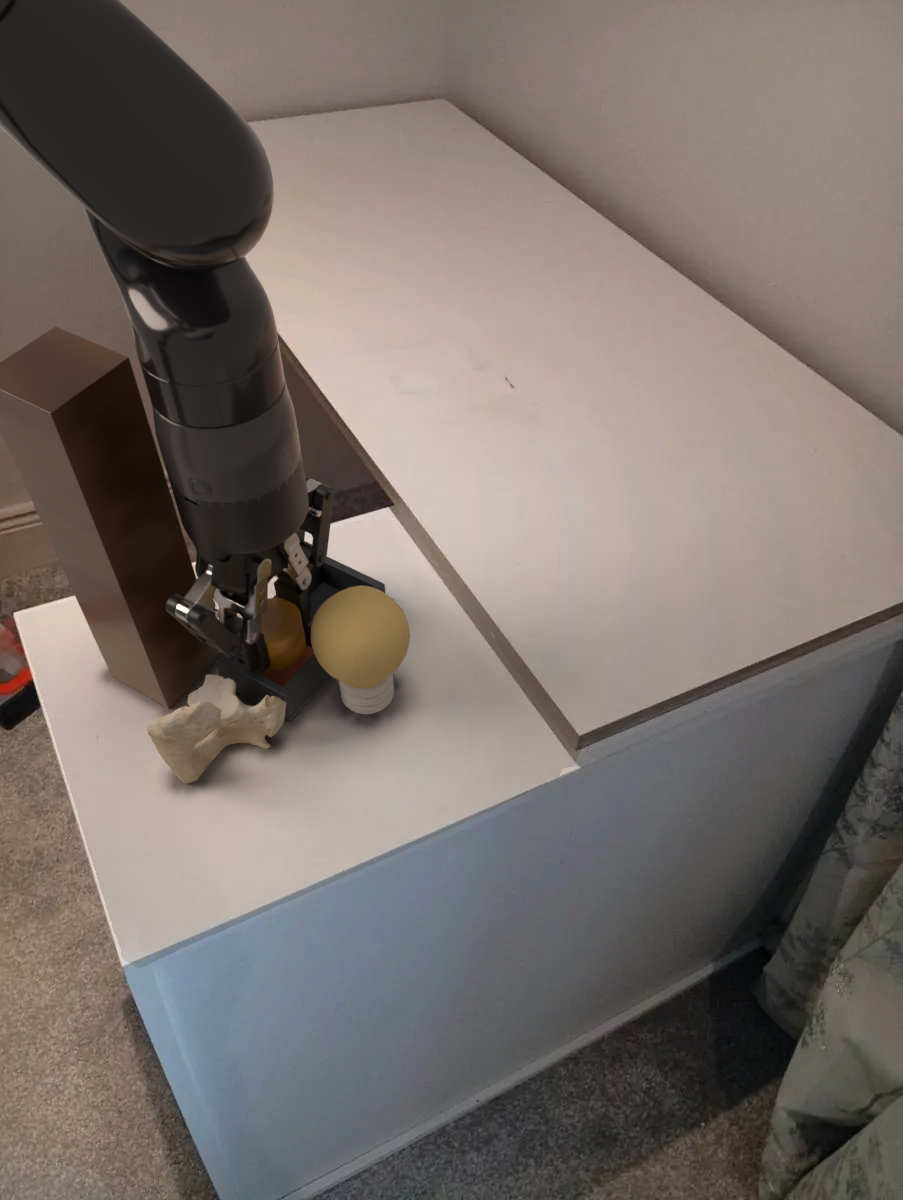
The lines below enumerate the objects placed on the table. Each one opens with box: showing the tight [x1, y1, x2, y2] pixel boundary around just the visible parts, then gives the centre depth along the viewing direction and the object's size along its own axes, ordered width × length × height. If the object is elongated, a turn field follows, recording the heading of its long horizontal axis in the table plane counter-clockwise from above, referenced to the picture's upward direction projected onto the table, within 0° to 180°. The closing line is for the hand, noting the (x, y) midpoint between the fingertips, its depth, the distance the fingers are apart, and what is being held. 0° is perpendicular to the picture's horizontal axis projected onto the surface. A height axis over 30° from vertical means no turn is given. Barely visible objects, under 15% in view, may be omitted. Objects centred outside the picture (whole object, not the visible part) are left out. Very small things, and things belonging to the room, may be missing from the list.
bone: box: [146, 673, 286, 785], centre depth 63 cm, size 9×6×10 cm
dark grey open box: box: [215, 556, 386, 722], centre depth 71 cm, size 12×6×3 cm, turn 148°
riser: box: [0, 326, 220, 710], centre depth 61 cm, size 6×6×26 cm
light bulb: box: [311, 586, 411, 715], centre depth 65 cm, size 6×6×10 cm
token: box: [261, 597, 306, 670], centre depth 67 cm, size 4×4×3 cm
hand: (275, 641), depth 68 cm, fingers closed on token, 4 cm apart
